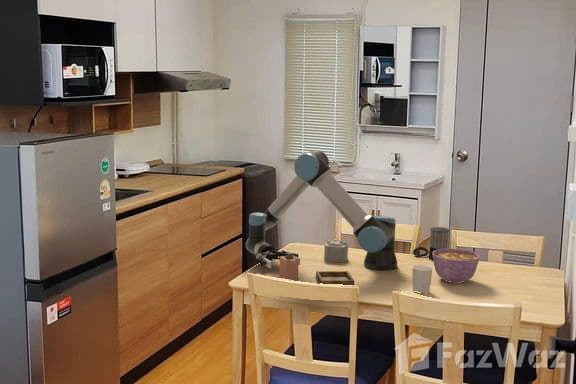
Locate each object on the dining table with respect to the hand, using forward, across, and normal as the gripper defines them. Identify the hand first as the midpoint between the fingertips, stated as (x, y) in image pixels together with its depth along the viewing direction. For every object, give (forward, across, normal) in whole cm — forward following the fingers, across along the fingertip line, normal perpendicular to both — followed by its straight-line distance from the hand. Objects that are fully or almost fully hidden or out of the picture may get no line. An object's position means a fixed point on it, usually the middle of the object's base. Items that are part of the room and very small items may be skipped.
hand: (285, 263), depth 307 cm
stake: (+3, -1, -6) cm, 6 cm away
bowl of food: (+31, -66, -6) cm, 73 cm away
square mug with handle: (+3, -1, -6) cm, 6 cm away
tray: (+14, -17, -6) cm, 22 cm away
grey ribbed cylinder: (-4, -79, -6) cm, 79 cm away
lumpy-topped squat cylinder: (-19, -36, -6) cm, 41 cm away
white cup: (+39, -43, -6) cm, 58 cm away
